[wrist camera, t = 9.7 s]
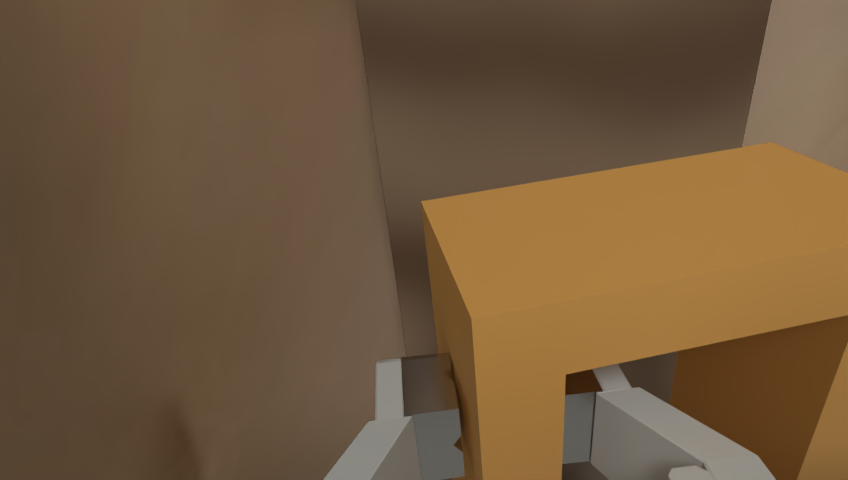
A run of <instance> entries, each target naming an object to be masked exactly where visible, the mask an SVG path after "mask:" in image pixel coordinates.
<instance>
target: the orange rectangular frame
mask: <svg viewBox="0 0 848 480" xmlns="http://www.w3.org/2000/svg"><path fill="white" fill-rule="evenodd" d="M421 206H422V215H423V224H424V232H425V241H426V250H427V259H428V268H429V276H430V285H431V294H432V303H433V311H434V320H435V329H436V338H437V346H438V354H439V353H449V355H450V361H451V367H452V376H453V381H454V383H455V390H456V396H457V402H458V408H459V417H460V427H461V436H460V438H461V444H462V450H463V461H464V473H465V476H462V477H456V478H453V480H562V459H563V434H564V409H565V383H566V374H571V373H576V372H580V371H585V370H590V369H595V368H599V367H604V366H609V365H614V364H618V363H623V362H628V361H633V360H637V359H642V358H647V357H652V356H656V355H661V354H666V353H671V352H675V351H678V355H677V361H676V367H675V373H674V378H673V384H672V390H671V396H670V402H669V405H671V406H673V407H675V408H676V409H678V410H680V411H682V412H683V413H685V414H687V415H688V416H690V417H692V418H694V419H695V420H697V421H699V422H701V423H702V424H704V425H706V426H707V427H709V428H711V429H713V430H714V431H716V432H718V433H720V434H721V435H723V436H725V437H726V438H728V439H730V440H732V441H733V442H735V443H737V444H739V445H740V446H742V447H744V448H746V449H747V450H749V451H751V452H752V453H754V454H756V455H758V456H759V458H760V459H761V460H762V462H763V463H764V464H765V466H766V467H767V468H768V470H769V471H770V472H771V474H772V475H773V476H774V478H775V479H776V480H848V173H846V172H844V171H841V170H839V169H836V168H834V167H831V166H829V165H826V164H824V163H821V162H819V161H816V160H814V159H812V158H809V157H807V156H804V155H802V154H799V153H797V152H794V151H792V150H789V149H787V148H784V147H782V146H779V145H777V144H775V143H772V142H770V143H764V144H759V145H753V146H747V147H741V148H735V149H729V150H723V151H717V152H711V153H705V154H699V155H693V156H687V157H681V158H675V159H669V160H664V161H658V162H652V163H646V164H640V165H634V166H628V167H622V168H616V169H610V170H604V171H598V172H592V173H586V174H580V175H574V176H569V177H563V178H557V179H551V180H545V181H539V182H533V183H527V184H521V185H515V186H509V187H503V188H497V189H491V190H485V191H480V192H474V193H468V194H462V195H456V196H450V197H444V198H438V199H432V200H426V201H421Z"/></svg>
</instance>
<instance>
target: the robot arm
mask: <svg viewBox="0 0 848 480" xmlns="http://www.w3.org/2000/svg"><path fill="white" fill-rule="evenodd" d="M460 436H461V427H460V417H459V408H458V402H457V396H456V390H455V383H454V381H453V376H452V367H451V361H450V355H449V353H439V354H430V355H420V356H410V357H402V359H401V358H394V359H385V360H377V363H376V384H375V421H368V422H367V423H366V425H365V426H364V427H363V429H362V430H361V431H360V432H359V434H358V435H357V436H356V438H355V439H354V440H353V442H352V443H351V444H350V445H349V447H348V448H347V449H346V451H345V452H344V453H343V454H342V456H341V457H340V458H339V460H338V461H337V462H336V464H335V465H334V466H333V467H332V469H331V470H330V471H329V473H328V474H327V475H326V477H325V478H324V479H323V480H443V479H449V478H456V477H462V476H465V473H464V461H463V450H462V444H461V438H460ZM586 461H591V464H592V465H593V466H594V467H595V468H596V469H597V470H599V471H600V472H601V473H602V474H603V475H604V476H605V477H606V478H607V479H608V480H776V479H775V478H774V476H773V475H772V474H771V472H770V471H769V470H768V468H767V467H766V466H765V464H764V463H763V462H762V460H761V459H760V458H759V456H758V455H756V454H754V453H752V452H751V451H749V450H747V449H746V448H744V447H742V446H740V445H739V444H737V443H735V442H733V441H732V440H730V439H728V438H726V437H725V436H723V435H721V434H720V433H718V432H716V431H714V430H713V429H711V428H709V427H707V426H706V425H704V424H702V423H701V422H699V421H697V420H695V419H694V418H692V417H690V416H688V415H687V414H685V413H683V412H682V411H680V410H678V409H676V408H675V407H673V406H671V405H669V404H668V403H666V402H664V401H662V400H661V399H659V398H657V397H656V396H654V395H652V394H650V393H649V392H647V391H645V390H643V389H642V388H640V387H637V388H632V387H631V385H630V383H629V382H628V380H627V378H626V377H625V375H624V373H623V372H622V370H621V368H620V367H619V365H618V364H614V365H609V366H604V367H599V368H595V369H590V370H585V371H580V372H576V373H571V374H566V383H565V409H564V434H563V459H562V464H567V463H577V462H586Z"/></svg>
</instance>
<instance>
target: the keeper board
mask: <svg viewBox="0 0 848 480" xmlns="http://www.w3.org/2000/svg"><path fill="white" fill-rule="evenodd" d="M771 1H772V0H356V6H357V13H358V20H359V27H360V34H361V41H362V48H363V55H364V62H365V69H366V76H367V83H368V89H369V96H370V103H371V110H372V117H373V124H374V131H375V138H376V145H377V152H378V159H379V166H380V173H381V179H382V186H383V193H384V200H385V207H386V214H387V221H388V228H389V235H390V242H391V249H392V256H393V263H394V269H395V276H396V283H397V290H398V297H399V304H400V311H401V318H402V325H403V332H404V339H405V346H406V353H407V357H410V356H420V355H430V354H438V346H437V338H436V329H435V320H434V311H433V303H432V294H431V285H430V276H429V268H428V259H427V250H426V241H425V232H424V224H423V215H422V206H421V201H426V200H432V199H438V198H444V197H450V196H456V195H462V194H468V193H474V192H480V191H485V190H491V189H497V188H503V187H509V186H515V185H521V184H527V183H533V182H539V181H545V180H551V179H557V178H563V177H569V176H574V175H580V174H586V173H592V172H598V171H604V170H610V169H616V168H622V167H628V166H634V165H640V164H646V163H652V162H658V161H664V160H669V159H675V158H681V157H687V156H693V155H699V154H705V153H711V152H717V151H723V150H729V149H735V148H741V147H742V143H743V138H744V133H745V129H746V124H747V119H748V114H749V109H750V104H751V99H752V94H753V89H754V84H755V80H756V75H757V70H758V65H759V60H760V55H761V50H762V45H763V40H764V35H765V31H766V26H767V21H768V16H769V11H770V6H771ZM677 355H678V351H675V352H671V353H666V354H661V355H656V356H652V357H647V358H642V359H637V360H633V361H628V362H623V363H618V365H619V367H620V368H621V370H622V372H623V373H624V375H625V377H626V378H627V380H628V382H629V383H630V385H631V387H632V388H637V387H640V388H642V389H643V390H645V391H647V392H649V393H650V394H652V395H654V396H656V397H657V398H659V399H661V400H662V401H664V402H666V403H668V404H669V402H670V396H671V390H672V384H673V378H674V373H675V367H676V361H677ZM443 480H453V478H449V479H443ZM562 480H608V479H607V478H606V477H605V476H604V475H603V474H602V473H601V472H600V471H599V470H597V469H596V468H595V467H594V466H593V465H592V464H591V461H586V462H577V463H567V464H562Z"/></svg>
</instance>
